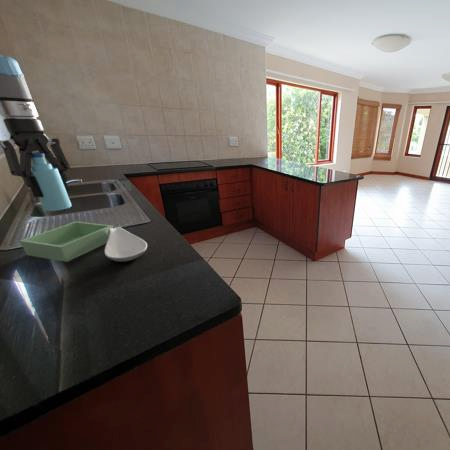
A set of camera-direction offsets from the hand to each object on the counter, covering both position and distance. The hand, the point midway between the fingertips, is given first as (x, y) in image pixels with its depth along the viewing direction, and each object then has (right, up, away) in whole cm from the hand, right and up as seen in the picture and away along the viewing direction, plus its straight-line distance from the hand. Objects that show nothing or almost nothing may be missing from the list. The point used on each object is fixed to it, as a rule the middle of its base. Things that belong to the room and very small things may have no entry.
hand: (52, 193), depth 79 cm
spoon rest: (+19, -20, +6) cm, 29 cm away
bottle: (0, -5, +2) cm, 5 cm away
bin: (0, -19, +8) cm, 21 cm away
